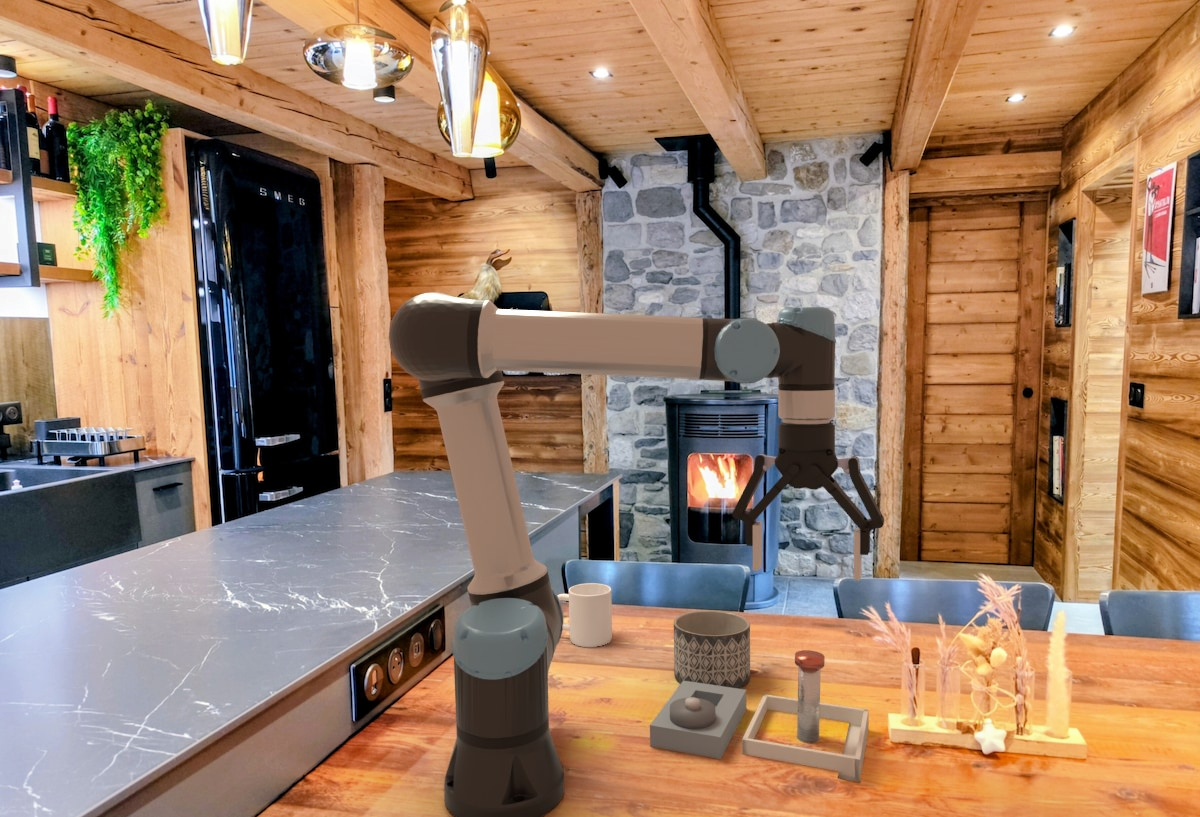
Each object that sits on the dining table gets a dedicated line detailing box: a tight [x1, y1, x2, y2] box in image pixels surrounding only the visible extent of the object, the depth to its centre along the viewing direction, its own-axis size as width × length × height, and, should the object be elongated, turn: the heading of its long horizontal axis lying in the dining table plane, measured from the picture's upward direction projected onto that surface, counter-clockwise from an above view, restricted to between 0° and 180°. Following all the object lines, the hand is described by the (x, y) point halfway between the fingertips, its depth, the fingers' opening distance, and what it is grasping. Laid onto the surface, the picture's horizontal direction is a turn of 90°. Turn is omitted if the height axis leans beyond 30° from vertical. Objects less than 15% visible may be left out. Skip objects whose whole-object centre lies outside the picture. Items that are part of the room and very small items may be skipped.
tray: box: [741, 693, 870, 783], centre depth 111 cm, size 15×15×3 cm
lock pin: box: [794, 649, 826, 744], centre depth 110 cm, size 4×4×12 cm
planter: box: [673, 609, 751, 689], centre depth 132 cm, size 13×13×10 cm
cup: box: [556, 582, 613, 648], centre depth 153 cm, size 8×12×10 cm
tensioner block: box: [649, 681, 747, 760], centre depth 114 cm, size 16×10×7 cm, turn 157°
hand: (806, 573), depth 109 cm, fingers open, 13 cm apart
